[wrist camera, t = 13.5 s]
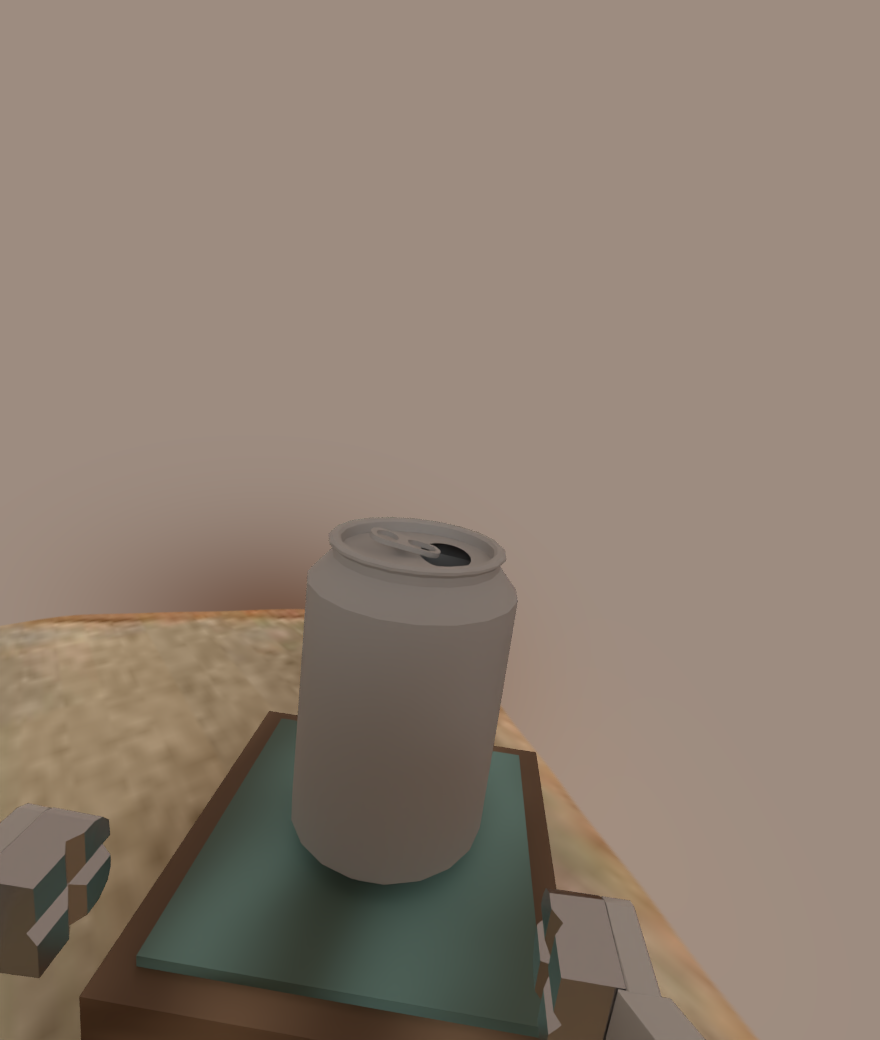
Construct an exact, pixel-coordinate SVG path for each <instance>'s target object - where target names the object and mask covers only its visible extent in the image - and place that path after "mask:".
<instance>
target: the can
mask: <svg viewBox="0 0 880 1040" xmlns="http://www.w3.org/2000/svg"><path fill="white" fill-rule="evenodd" d="M329 542H330V545H331V546H332V548H331V549H330V550H329V551H328V552H327V553H326V554H325V555H324V556H323V557H321V558H320V559H319V560H318V561H317V562H316V563H315V564H314V565H313V566H312V567H311V568H310V569H309V570H308V576H307V591H306V605H305V619H304V633H303V647H302V662H301V676H300V690H299V705H298V719H297V733H296V748H295V762H294V776H293V791H292V815H291V820H292V823H293V825H294V827H295V830H296V832H297V835H298V837H299V839H300V842H301V844H302V845H303V846H304V847H305V848H306V849H307V850H308V851H309V852H310V853H311V854H312V855H313V856H314V857H315V858H316V859H317V860H318V861H319V862H320V863H321V864H323V865H325V866H327V867H329V868H331V869H333V870H335V871H337V872H339V873H341V874H343V875H345V876H347V877H349V878H351V879H356V880H358V881H364V882H370V883H376V884H381V885H388V884H397V883H406V882H416V881H421V880H424V879H426V878H428V877H431V876H433V875H435V874H438V873H440V872H442V871H445V870H447V869H449V868H450V867H452V866H453V865H454V864H455V863H456V862H457V861H458V860H459V859H460V858H461V857H462V856H464V855H465V854H466V853H467V852H468V851H469V850H470V848H471V846H472V844H473V842H474V839H475V837H476V835H477V833H478V831H479V829H480V823H481V818H482V812H483V806H484V800H485V794H486V788H487V782H488V776H489V770H490V764H491V758H492V752H493V746H494V740H495V734H496V728H497V722H498V716H499V710H500V704H501V698H502V692H503V686H504V680H505V674H506V668H507V662H508V655H509V650H510V644H511V638H512V632H513V626H514V620H515V614H516V608H517V602H518V600H517V594H516V589H515V587H514V586H513V585H512V583H511V582H510V580H509V579H508V577H507V576H506V574H505V573H504V572H503V570H502V569H501V567H500V566H501V565H502V564H503V563H504V562H505V561H506V554H505V550H504V549H503V548H502V547H501V546H500V545H499V544H498V543H497V542H496V541H495V540H493V539H491V538H489V537H487V536H485V535H483V534H481V533H478V532H475V531H472V530H469V529H466V528H463V527H460V526H455V525H451V524H446V523H441V522H436V521H429V520H422V519H413V518H396V517H386V518H383V517H382V518H365V519H358V520H352V521H349V522H346V523H343V524H340V525H338V526H337V527H335V528H334V529H333V530H332V531H331V532H330V533H329Z"/></svg>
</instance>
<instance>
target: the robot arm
mask: <svg viewBox="0 0 880 1040" xmlns="http://www.w3.org/2000/svg"><path fill="white" fill-rule="evenodd" d="M109 835H110V828H109V820H108V819H106V818H104V817H101V816H95V815H90V814H85V813H80V812H75V811H69V810H64V809H59V808H54V807H53V808H51V807H46V806H40V805H35V804H30V803H27V804H25V805H22V806H20V807H18V808H16V809H15V810H14V811H13V812H12V813H11V814H10V815H9V816H7V817H6V818H5V819H4V820H3V821H2V822H1V823H0V973H5V974H12V975H19V976H26V977H34V978H40V976H41V975H42V974H43V973H44V971H45V970H46V969H47V967H48V966H49V965H50V963H51V962H52V961H53V959H54V958H55V957H56V955H57V954H58V953H59V951H60V950H61V949H62V947H63V946H64V945H65V944H66V942H67V941H68V940H69V928H70V925H71V924H72V923H74V922H76V921H77V920H79V919H81V918H82V917H84V916H86V915H87V914H88V913H89V912H90V910H91V909H92V907H93V906H94V905H95V903H96V902H97V901H98V899H99V897H100V895H101V893H102V891H103V889H104V887H105V884H106V882H107V880H108V876H109V871H110V866H111V858H110V853H109V852H108V851H107V849H106V848H105V846H104V845H103V842H104V841H105V840H106V839H107V838H108V836H109ZM541 910H542V921H541V922H540V923H539V924H537V927H536V933H535V938H534V950H533V977H534V990H535V992H536V993H537V995H538V996H539V998H540V999H541V1003H540V1008H539V1013H538V1018H537V1023H538V1033H539V1040H705V1039H704V1037H703V1036H702V1035H701V1034H700V1033H699V1031H698V1030H697V1029H696V1028H695V1027H694V1026H693V1024H692V1023H691V1022H690V1021H689V1020H688V1019H687V1017H686V1016H685V1015H684V1014H683V1013H682V1011H681V1010H680V1009H679V1008H678V1007H677V1006H676V1004H675V1003H674V1002H673V1001H672V1000H671V999H670V998H665V997H661V993H660V990H659V987H658V983H657V980H656V977H655V974H654V970H653V967H652V964H651V960H650V957H649V954H648V951H647V947H646V944H645V941H644V937H643V934H642V931H641V928H640V924H639V921H638V918H637V914H636V911H635V908H634V906H633V904H632V903H631V902H630V900H623V899H616V898H610V897H603V896H602V897H600V896H597V895H590V894H584V893H577V892H570V891H564V890H557V889H550V888H546V889H545V891H544V893H543V897H542V902H541Z"/></svg>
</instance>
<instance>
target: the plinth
mask: <svg viewBox="0 0 880 1040" xmlns="http://www.w3.org/2000/svg"><path fill="white" fill-rule="evenodd" d="M297 719H298V715H291V714H285V713H278V712H272V711H269V712H268V714H267V715H266V717H265V718H264V720H263V721H262V723H261V724H260V726H259V727H258V729H257V730H256V732H255V733H254V735H253V737H252V738H251V740H250V741H249V743H248V744H247V746H246V747H245V749H244V750H243V752H242V753H241V755H240V756H239V758H238V759H237V761H236V762H235V764H234V765H233V767H232V768H231V770H230V771H229V773H228V774H227V776H226V777H225V779H224V780H223V782H222V783H221V785H220V786H219V788H218V789H217V791H216V792H215V794H214V795H213V797H212V798H211V800H210V801H209V803H208V804H207V806H206V807H205V809H204V810H203V812H202V813H201V815H200V816H199V818H198V819H197V821H196V822H195V824H194V825H193V827H192V828H191V830H190V831H189V833H188V834H187V836H186V837H185V839H184V840H183V842H182V843H181V845H180V846H179V848H178V849H177V851H176V852H175V854H174V855H173V857H172V858H171V860H170V861H169V863H168V864H167V866H166V867H165V869H164V870H163V872H162V873H161V875H160V876H159V878H158V879H157V881H156V882H155V884H154V885H153V887H152V888H151V890H150V891H149V893H148V894H147V896H146V897H145V899H144V900H143V902H142V903H141V905H140V906H139V908H138V909H137V911H136V912H135V914H134V915H133V917H132V918H131V920H130V921H129V923H128V924H127V926H126V927H125V929H124V930H123V932H122V933H121V935H120V936H119V938H118V939H117V941H116V942H115V944H114V946H113V947H112V949H111V950H110V952H109V953H108V955H107V956H106V958H105V959H104V961H103V962H102V964H101V965H100V967H99V968H98V970H97V971H96V973H95V974H94V976H93V977H92V979H91V980H90V982H89V983H88V985H87V986H86V988H85V989H84V991H83V992H82V994H81V995H80V1021H81V1040H539V1033H538V1023H537V1018H538V1013H539V1008H540V1003H541V999H540V998H539V996H538V995H537V993H536V992H535V990H534V977H533V950H534V938H535V933H536V927H537V924H539V923H540V922H541V921H542V910H541V902H542V897H543V893H544V891H545V889H546V888H550V889H556V884H555V877H554V871H553V864H552V857H551V851H550V844H549V837H548V830H547V824H546V817H545V810H544V803H543V797H542V790H541V783H540V777H539V770H538V763H537V756H536V752H530V751H523V750H517V749H510V748H504V747H497V746H493V752H492V758H491V764H490V770H489V776H488V782H487V788H486V794H485V800H484V806H483V812H482V818H481V823H480V829H479V831H478V833H477V835H476V837H475V839H474V842H473V844H472V846H471V848H470V850H469V851H468V852H467V853H466V854H465V855H464V856H462V857H461V858H460V859H459V860H458V861H457V862H456V863H455V864H454V865H453V866H452V867H450V868H449V869H447V870H445V871H442V872H440V873H438V874H435V875H433V876H431V877H428V878H426V879H424V880H421V881H416V882H406V883H397V884H388V885H381V884H376V883H370V882H364V881H358V880H356V879H351V878H349V877H347V876H345V875H343V874H341V873H339V872H337V871H335V870H333V869H331V868H329V867H327V866H325V865H323V864H321V863H320V862H319V861H318V860H317V859H316V858H315V857H314V856H313V855H312V854H311V853H310V852H309V851H308V850H307V849H306V848H305V847H304V846H303V845H302V844H301V842H300V839H299V837H298V835H297V832H296V830H295V827H294V825H293V823H292V820H291V815H292V791H293V776H294V762H295V748H296V733H297Z"/></svg>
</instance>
